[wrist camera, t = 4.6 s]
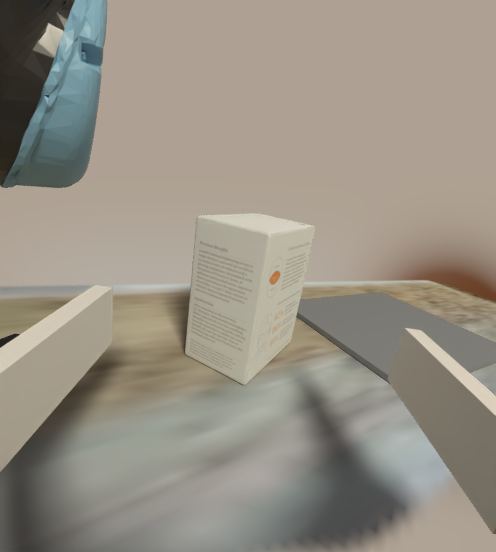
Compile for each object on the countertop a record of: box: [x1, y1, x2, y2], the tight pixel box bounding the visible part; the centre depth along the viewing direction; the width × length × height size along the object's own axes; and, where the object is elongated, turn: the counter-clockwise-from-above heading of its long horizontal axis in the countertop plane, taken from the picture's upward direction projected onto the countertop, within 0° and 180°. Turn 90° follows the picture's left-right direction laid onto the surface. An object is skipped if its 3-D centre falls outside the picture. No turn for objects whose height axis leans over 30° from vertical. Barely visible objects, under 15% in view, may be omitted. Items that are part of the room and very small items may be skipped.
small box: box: [185, 213, 315, 385], centre depth 23 cm, size 8×6×10 cm
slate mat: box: [297, 292, 496, 383], centre depth 33 cm, size 18×16×1 cm
